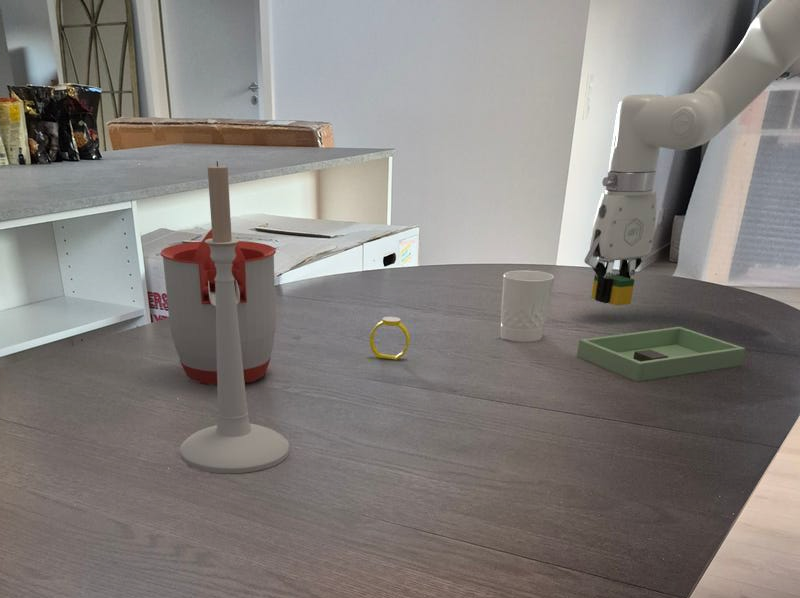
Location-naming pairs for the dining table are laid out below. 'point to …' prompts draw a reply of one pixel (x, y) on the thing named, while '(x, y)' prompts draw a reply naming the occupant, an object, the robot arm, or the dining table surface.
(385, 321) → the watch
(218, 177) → the candlestick
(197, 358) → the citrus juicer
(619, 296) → the sponge
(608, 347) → the tray
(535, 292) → the white cup
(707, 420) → the dining table surface
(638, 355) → the crust
